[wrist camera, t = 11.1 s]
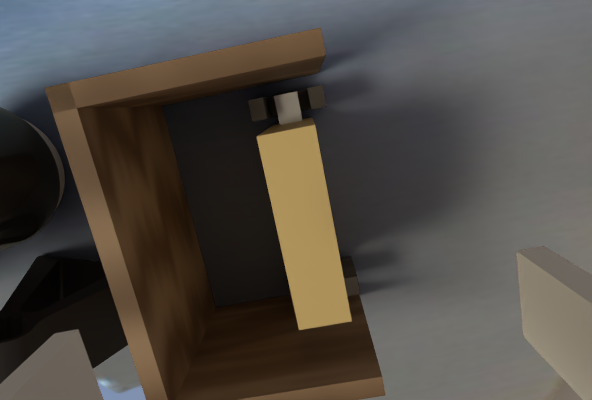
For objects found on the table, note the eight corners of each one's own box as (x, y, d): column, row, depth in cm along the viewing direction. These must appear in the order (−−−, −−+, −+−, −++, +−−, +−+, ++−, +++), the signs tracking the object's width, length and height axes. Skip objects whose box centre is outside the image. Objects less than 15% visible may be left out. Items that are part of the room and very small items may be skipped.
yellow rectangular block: (267, 98, 31) (247, 96, 20) (306, 90, 31) (307, 83, 20) (305, 280, 34) (305, 361, 24) (341, 274, 34) (357, 352, 23)
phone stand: (148, 267, 34) (67, 351, 23) (145, 331, 36) (68, 442, 24) (40, 254, 34) (-97, 332, 23) (42, 319, 36) (-86, 424, 24)
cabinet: (142, 93, 31) (44, 87, 19) (315, 56, 30) (320, 27, 19) (205, 322, 35) (156, 431, 24) (358, 296, 35) (385, 395, 23)
